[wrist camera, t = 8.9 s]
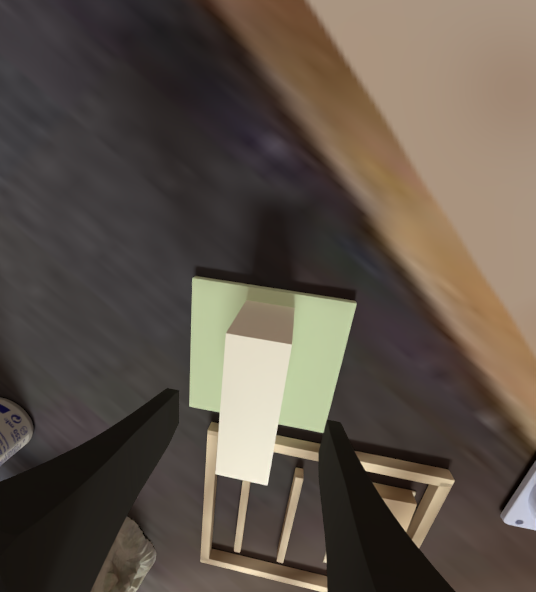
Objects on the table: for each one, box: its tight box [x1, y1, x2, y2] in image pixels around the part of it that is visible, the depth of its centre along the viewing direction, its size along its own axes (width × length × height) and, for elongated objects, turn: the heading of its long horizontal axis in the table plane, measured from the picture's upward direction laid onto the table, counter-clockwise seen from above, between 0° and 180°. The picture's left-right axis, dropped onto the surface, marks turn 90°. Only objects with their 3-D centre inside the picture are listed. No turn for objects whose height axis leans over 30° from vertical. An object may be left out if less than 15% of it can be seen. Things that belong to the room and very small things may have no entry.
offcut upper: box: [374, 484, 417, 532], centre depth 21 cm, size 5×10×1 cm, turn 176°
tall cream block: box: [215, 300, 295, 485], centre depth 15 cm, size 3×9×4 cm, turn 173°
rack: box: [200, 422, 455, 592], centre depth 21 cm, size 18×17×1 cm
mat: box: [189, 276, 357, 433], centre depth 17 cm, size 10×10×1 cm
